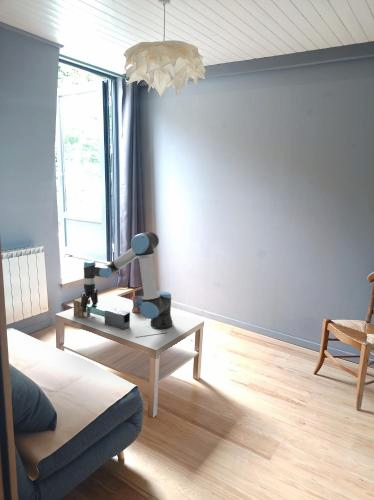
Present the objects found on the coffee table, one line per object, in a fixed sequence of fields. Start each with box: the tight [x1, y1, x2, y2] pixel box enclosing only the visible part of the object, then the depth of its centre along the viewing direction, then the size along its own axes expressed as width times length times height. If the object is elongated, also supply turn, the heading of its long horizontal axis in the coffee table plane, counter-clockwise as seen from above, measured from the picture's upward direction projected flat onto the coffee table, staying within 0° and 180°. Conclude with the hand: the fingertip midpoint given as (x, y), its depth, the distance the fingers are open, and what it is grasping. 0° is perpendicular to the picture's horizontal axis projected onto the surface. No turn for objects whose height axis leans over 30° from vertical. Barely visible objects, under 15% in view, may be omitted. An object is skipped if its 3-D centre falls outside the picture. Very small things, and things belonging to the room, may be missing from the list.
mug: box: [131, 295, 143, 314], centre depth 276 cm, size 12×9×11 cm
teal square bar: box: [87, 301, 108, 318], centre depth 256 cm, size 28×6×6 cm, turn 60°
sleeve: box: [104, 306, 131, 331], centre depth 247 cm, size 16×7×10 cm, turn 60°
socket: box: [73, 297, 91, 319], centre depth 263 cm, size 8×8×12 cm
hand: (89, 314), depth 260 cm, fingers open, 7 cm apart
